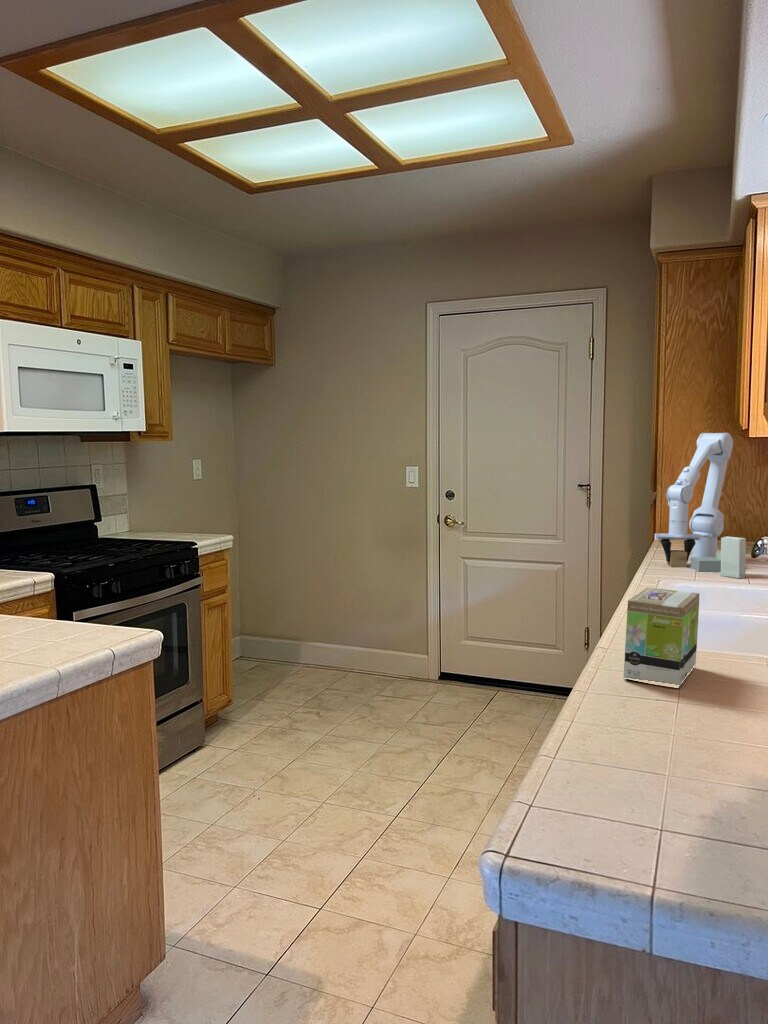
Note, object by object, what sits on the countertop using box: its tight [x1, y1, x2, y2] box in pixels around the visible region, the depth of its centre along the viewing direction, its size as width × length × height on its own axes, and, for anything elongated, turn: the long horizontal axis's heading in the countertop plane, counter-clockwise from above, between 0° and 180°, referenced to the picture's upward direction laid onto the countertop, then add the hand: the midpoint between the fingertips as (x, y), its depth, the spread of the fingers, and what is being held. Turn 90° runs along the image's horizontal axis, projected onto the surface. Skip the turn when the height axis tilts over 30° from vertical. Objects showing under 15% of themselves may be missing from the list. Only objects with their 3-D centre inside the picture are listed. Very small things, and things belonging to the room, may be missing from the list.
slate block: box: [689, 556, 721, 573], centre depth 242 cm, size 7×7×4 cm
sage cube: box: [716, 551, 721, 560], centre depth 246 cm, size 5×5×5 cm
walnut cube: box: [666, 549, 688, 568], centre depth 250 cm, size 5×5×5 cm
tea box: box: [623, 587, 700, 685], centre depth 138 cm, size 15×10×15 cm, turn 148°
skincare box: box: [720, 535, 747, 579], centre depth 231 cm, size 6×4×12 cm
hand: (676, 561), depth 251 cm, fingers closed on walnut cube, 5 cm apart
